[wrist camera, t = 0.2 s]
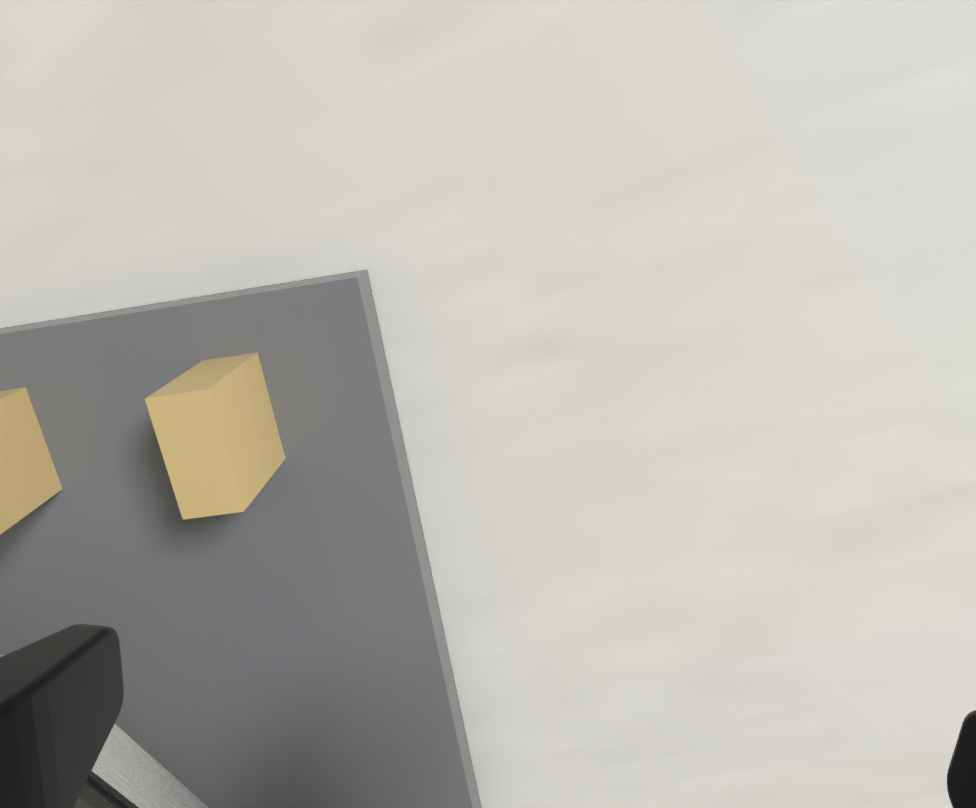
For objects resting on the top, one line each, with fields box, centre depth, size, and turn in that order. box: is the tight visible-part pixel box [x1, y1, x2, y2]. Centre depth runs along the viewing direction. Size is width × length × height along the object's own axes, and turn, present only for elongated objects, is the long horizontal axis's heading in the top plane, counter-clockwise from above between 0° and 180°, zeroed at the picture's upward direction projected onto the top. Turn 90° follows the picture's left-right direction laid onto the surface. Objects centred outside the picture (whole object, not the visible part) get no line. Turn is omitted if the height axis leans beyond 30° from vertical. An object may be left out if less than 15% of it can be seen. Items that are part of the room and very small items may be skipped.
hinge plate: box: [0, 270, 481, 808], centre depth 23 cm, size 24×14×4 cm, turn 9°
